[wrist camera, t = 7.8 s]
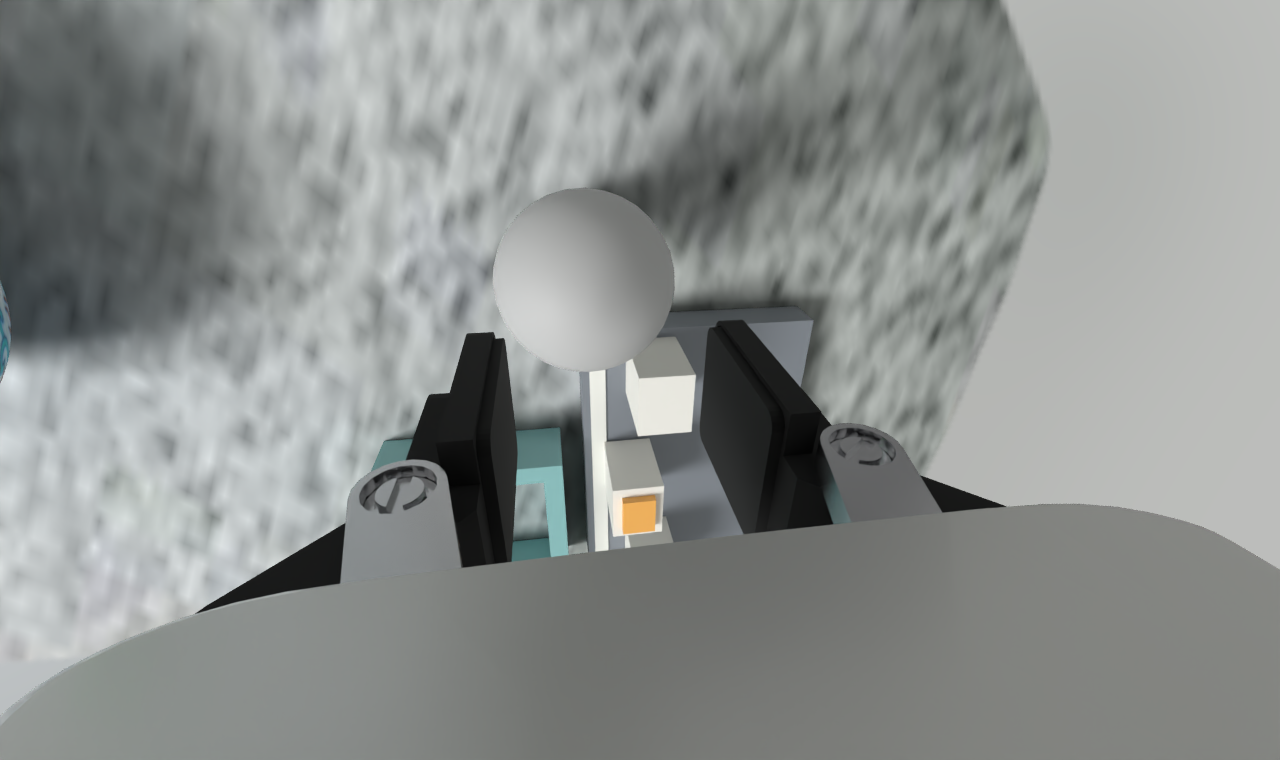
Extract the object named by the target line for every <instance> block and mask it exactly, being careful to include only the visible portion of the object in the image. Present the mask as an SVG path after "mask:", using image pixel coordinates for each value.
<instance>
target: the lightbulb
mask: <svg viewBox="0 0 1280 760" xmlns="http://www.w3.org/2000/svg"><path fill="white" fill-rule="evenodd" d="M493 288H494V294H495V299H496V303H497V306H498V309H499V311H500V313H501V316H502V318H503V320H504V323H505V325H506V326H507V328H508V329H509V331H510V332H511V334H512V335H513V336H514V338H515V339H516V340H517V341H518V342H519V343H520V344H521V345H522V346H523V347H524V348H525V349H526V350H527V351H529V352H530V353H531V354H533V355H534V356H536V357H537V358H539V359H540V360H542V361H543V362H545V363H548V364H550V365H553V366H555V367H557V368H561V369H566V370H570V371H579V372H593V371H601V370H606V369H609V368H613V367H616V366H619V365H621V364H623V363H625V362H627V361H629V360H631V359H633V358H634V357H636V356H637V355H638V354H640V353H641V352H642V351H644V350H645V349H646V348H647V347H648V346H649V345H650V344H651V343H652V341H653V340H654V339H655V338H656V337H657V335H658V334H659V332H660V330H661V329H662V327H663V326H664V324H665V321H666V319H667V316H668V314H669V311H670V309H671V306H672V301H673V295H674V267H673V262H672V258H671V253H670V250H669V248H668V246H667V243H666V241H665V239H664V237H663V235H662V233H661V232H660V231H659V229H658V228H657V227H656V225H655V224H654V222H653V221H652V220H651V219H650V217H649V216H647V215H646V214H645V213H644V212H643V211H642V210H641V209H640V208H639V207H637V206H636V205H635V204H633V203H631V202H630V201H628V200H626V199H625V198H623V197H621V196H619V195H616V194H613V193H610V192H607V191H604V190H598V189H589V188H577V189H566V190H562V191H559V192H555V193H552V194H549V195H546V196H545V197H543V198H541V199H539V200H537V201H535V202H534V203H532V204H530V205H529V206H528V207H527V208H526V209H524V210H523V211H522V212H521V213H520V214H519V215H517V217H516V218H515V219H514V221H513V222H512V223H511V224H510V226H509V227H508V228H507V230H506V232H505V234H504V236H503V238H502V240H501V242H500V244H499V246H498V250H497V255H496V259H495V263H494V268H493Z"/></svg>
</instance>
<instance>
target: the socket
mask: <svg viewBox="0 0 1280 760" xmlns="http://www.w3.org/2000/svg"><path fill="white" fill-rule="evenodd" d="M516 437H517V449H518V459H517V476H516V485H523V484H533V483H544V489H545V499H546V510H547V521H548V532H549V538H541V539H532V540H523V541H514V542H513V546H512V562H514V561H522V560H530V559H539V558H547V557H555V556H563V555H569V551H568V536H567V522H566V507H565V493H564V478H563V464H562V449H561V435H560V427H559V428H546V429H533V430H520V431H516ZM412 440H413V439H405V440H392V441H384V442H383V445H382V447H381V449H380V452H379V454H378V456H377V459H376V461H375V463H374V466H373V468H372V470H371V471H373V470H376V469H378V468H380V467H382V466H384V465H387V464H391V463H394V462H397V461H404V460H406V457H407V455H408V452H409V449H410V446H411V443H412Z"/></svg>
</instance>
